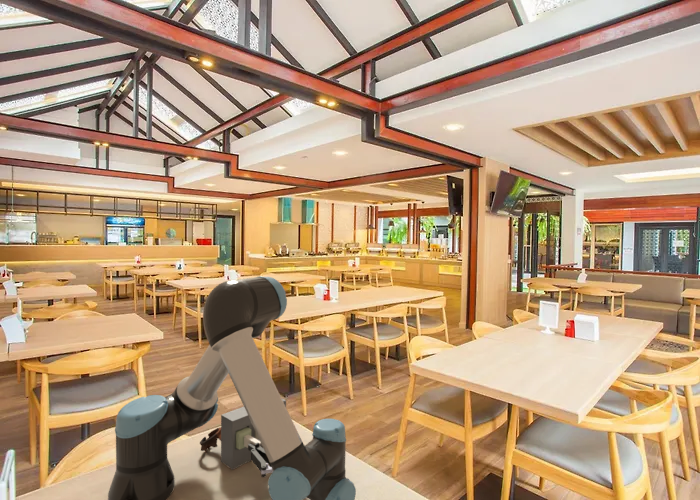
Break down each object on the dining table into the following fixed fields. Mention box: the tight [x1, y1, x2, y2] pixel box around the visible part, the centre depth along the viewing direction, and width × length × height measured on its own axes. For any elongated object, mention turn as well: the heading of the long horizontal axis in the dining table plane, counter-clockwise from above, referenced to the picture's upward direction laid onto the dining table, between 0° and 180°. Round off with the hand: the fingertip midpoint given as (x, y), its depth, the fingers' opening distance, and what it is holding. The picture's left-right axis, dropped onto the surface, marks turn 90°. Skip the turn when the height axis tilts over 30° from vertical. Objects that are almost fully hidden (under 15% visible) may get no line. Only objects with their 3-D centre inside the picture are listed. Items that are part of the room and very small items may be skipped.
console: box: [220, 398, 287, 470], centre depth 121 cm, size 20×6×14 cm, turn 139°
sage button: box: [236, 427, 251, 450], centre depth 114 cm, size 4×5×4 cm
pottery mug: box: [199, 426, 221, 453], centre depth 121 cm, size 12×10×8 cm
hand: (246, 440), depth 113 cm, fingers closed
